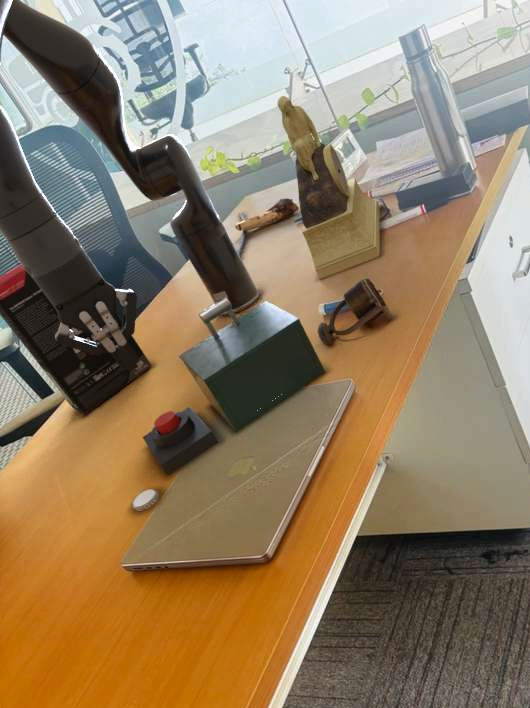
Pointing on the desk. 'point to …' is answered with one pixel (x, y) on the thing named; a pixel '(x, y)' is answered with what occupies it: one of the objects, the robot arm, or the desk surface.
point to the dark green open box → (263, 378)
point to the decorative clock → (329, 200)
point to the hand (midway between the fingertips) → (133, 368)
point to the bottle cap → (145, 499)
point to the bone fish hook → (269, 215)
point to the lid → (236, 338)
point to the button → (167, 422)
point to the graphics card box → (59, 360)
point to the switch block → (180, 441)
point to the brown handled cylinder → (356, 309)
